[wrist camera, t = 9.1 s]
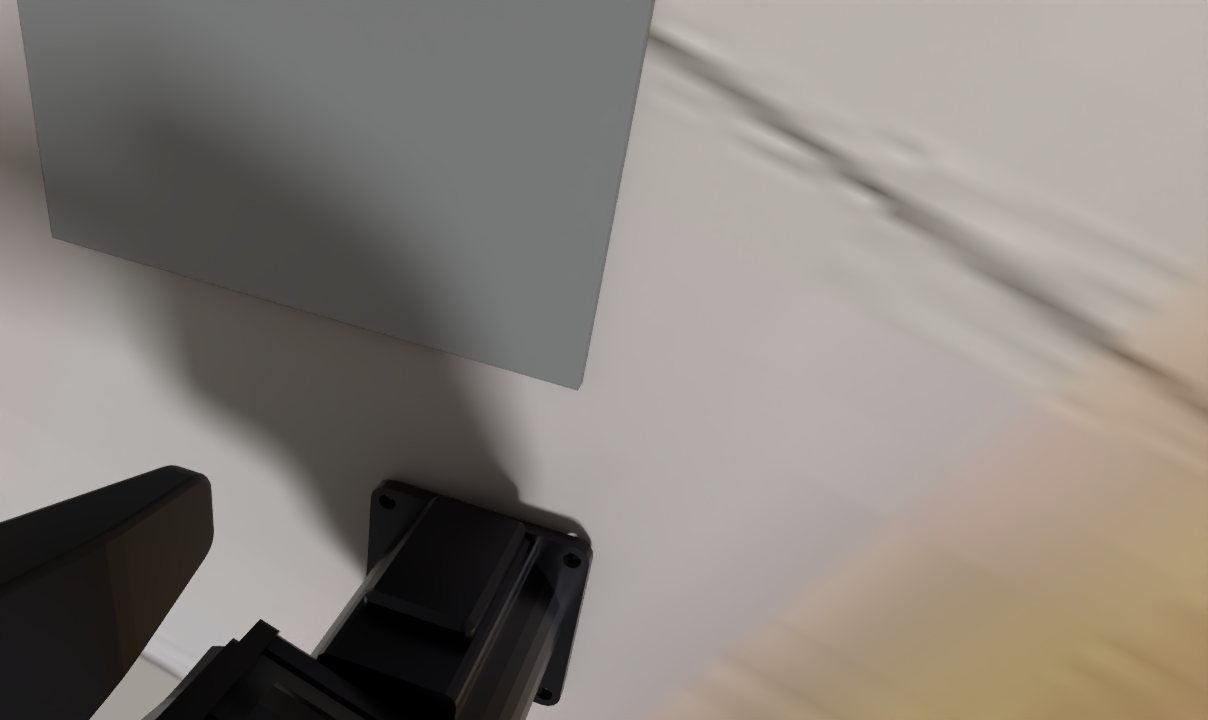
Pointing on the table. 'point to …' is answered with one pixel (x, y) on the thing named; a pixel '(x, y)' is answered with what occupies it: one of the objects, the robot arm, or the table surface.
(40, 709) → the robot arm
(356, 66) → the rubber mat
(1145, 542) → the table surface
